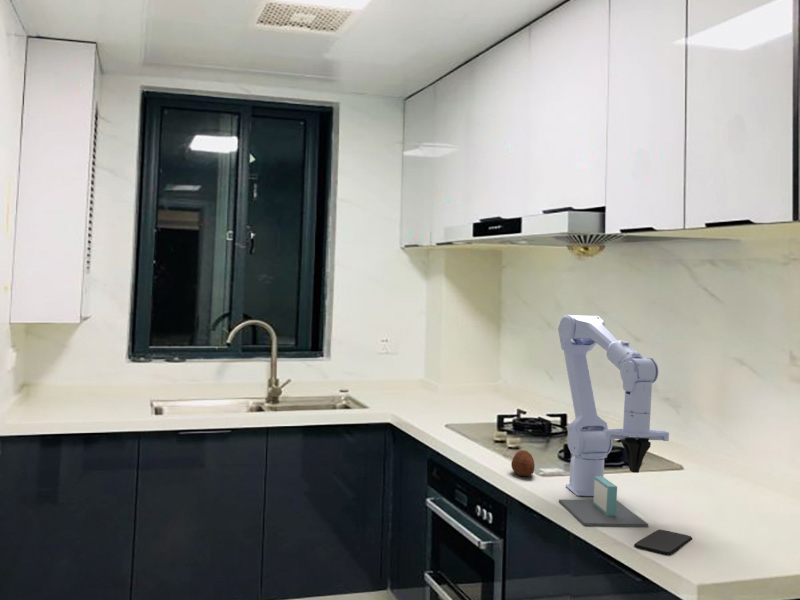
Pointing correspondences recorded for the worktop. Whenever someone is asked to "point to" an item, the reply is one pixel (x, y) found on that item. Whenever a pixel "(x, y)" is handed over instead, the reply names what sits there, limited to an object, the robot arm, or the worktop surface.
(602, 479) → the block
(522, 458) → the potato
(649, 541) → the smartphone
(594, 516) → the mat
